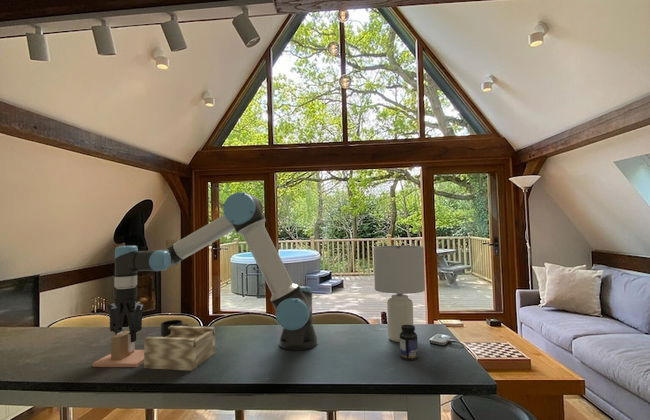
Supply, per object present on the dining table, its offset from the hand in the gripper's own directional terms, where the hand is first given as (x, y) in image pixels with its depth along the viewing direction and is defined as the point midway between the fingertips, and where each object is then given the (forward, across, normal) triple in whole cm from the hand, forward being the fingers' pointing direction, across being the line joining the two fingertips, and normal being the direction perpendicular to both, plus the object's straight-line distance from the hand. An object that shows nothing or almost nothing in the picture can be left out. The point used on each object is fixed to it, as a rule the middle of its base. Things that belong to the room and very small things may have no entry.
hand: (125, 350), depth 132 cm
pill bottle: (+3, -104, -12) cm, 104 cm away
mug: (+3, -12, -14) cm, 18 cm away
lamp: (+3, -102, -32) cm, 107 cm away
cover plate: (+3, -2, +1) cm, 4 cm away
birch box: (+3, -23, 0) cm, 23 cm away
